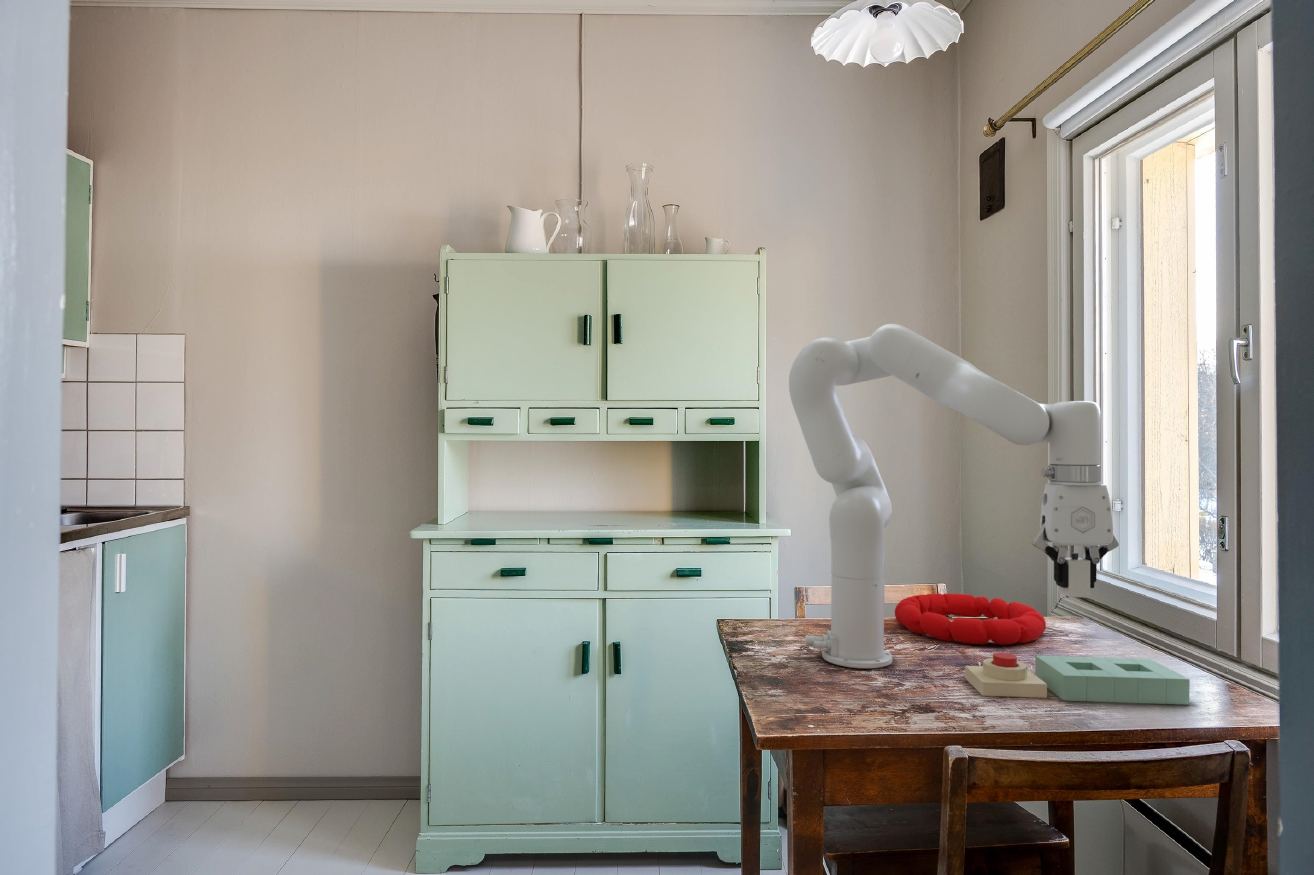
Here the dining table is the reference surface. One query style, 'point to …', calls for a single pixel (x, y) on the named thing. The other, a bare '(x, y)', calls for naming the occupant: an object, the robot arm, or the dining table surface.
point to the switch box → (1005, 680)
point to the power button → (1005, 660)
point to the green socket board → (1112, 680)
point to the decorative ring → (970, 619)
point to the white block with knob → (1077, 577)
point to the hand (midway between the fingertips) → (1075, 585)
